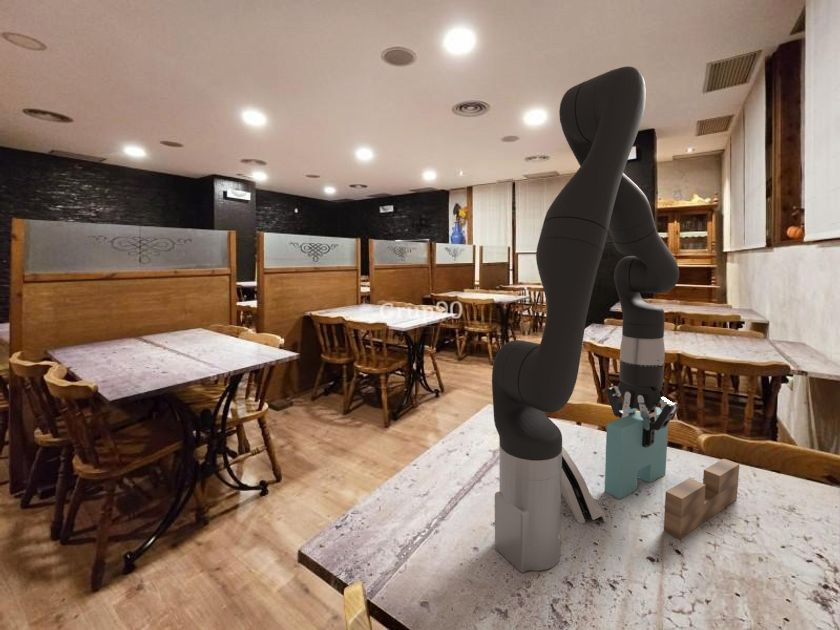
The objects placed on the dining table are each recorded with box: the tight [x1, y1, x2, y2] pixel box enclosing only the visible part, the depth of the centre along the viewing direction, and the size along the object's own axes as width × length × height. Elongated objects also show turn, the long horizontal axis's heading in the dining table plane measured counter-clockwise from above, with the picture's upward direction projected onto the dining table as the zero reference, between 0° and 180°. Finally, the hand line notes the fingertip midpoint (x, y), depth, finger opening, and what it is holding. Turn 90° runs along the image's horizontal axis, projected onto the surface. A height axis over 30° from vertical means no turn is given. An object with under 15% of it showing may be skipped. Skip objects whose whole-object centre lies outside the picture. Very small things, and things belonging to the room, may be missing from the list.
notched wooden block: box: [663, 458, 740, 540], centre depth 69 cm, size 20×2×7 cm, turn 120°
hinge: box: [561, 446, 608, 524], centre depth 76 cm, size 17×5×10 cm, turn 178°
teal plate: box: [604, 406, 669, 500], centre depth 79 cm, size 16×3×14 cm, turn 120°
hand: (637, 442), depth 79 cm, fingers closed on teal plate, 3 cm apart
